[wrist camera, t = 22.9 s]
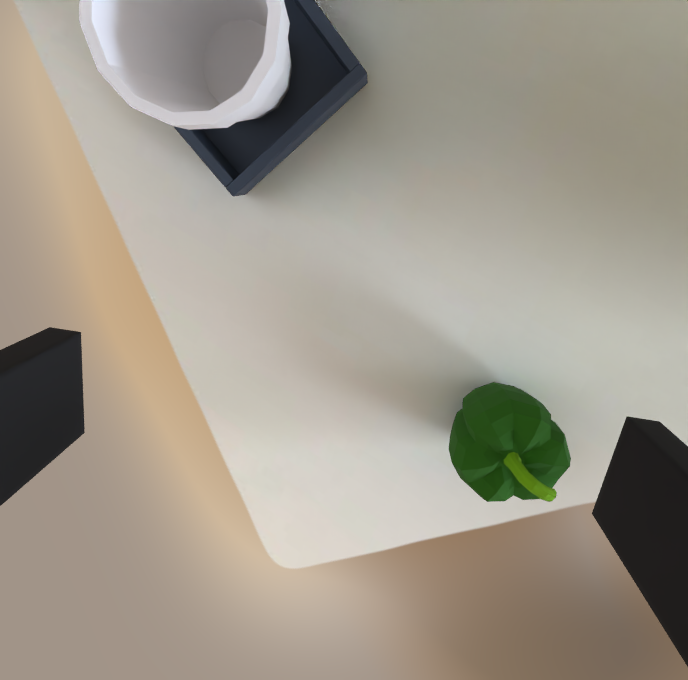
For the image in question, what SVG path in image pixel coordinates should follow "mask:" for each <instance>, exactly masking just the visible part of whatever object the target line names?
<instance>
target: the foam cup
mask: <svg viewBox="0 0 688 680" xmlns="http://www.w3.org/2000/svg"><path fill="white" fill-rule="evenodd" d="M79 22H80V25H81V28H82V30H83V33H84V36H85V38H86V41H87V43H88V46H89V49H90V51H91V54H92V57H93V59H94V62H95V65H96V67H97V70H98V71H99V73H100V74H101V75H102V76H103V77H104V78H105V79H106V80H107V81H108V83H109V84H110V85H111V86H112V87H113V88H114V89H115V90H116V91H117V93H118V94H119V95H120V96H121V97H122V98H123V99H124V100H125V101H126V103H127V104H128V105H129V106H130V107H131V108H134V109H136V110H138V111H140V112H142V113H145V114H147V115H149V116H151V117H153V118H156V119H158V120H160V121H162V122H165V123H167V124H169V125H171V126H175V127H179V128H184V129H188V130H192V129H212V128H228V127H229V126H231V125H233V124H234V123H236V122H240V121H245V120H251V119H257V118H261V117H263V116H264V115H266V114H268V113H269V112H271V111H273V110H274V109H276V108H277V107H278V106H279V104H280V103H281V101H282V100H283V98H284V96H285V95H286V93H287V92H288V90H289V84H290V76H291V69H292V65H291V58H290V50H289V43H288V33H289V25H290V22H289V18H288V14H287V11H286V7H285V3H284V0H79Z"/></svg>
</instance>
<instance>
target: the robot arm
mask: <svg viewBox="0 0 688 680" xmlns="http://www.w3.org/2000/svg"><path fill="white" fill-rule="evenodd" d="M82 381H83V379H82V351H81V332H76V331H70V330H63V329H57V328H47V329H45V330H43V331H41V332H39V333H36V334H34V335H32V336H30V337H28V338H26V339H24V340H21V341H19V342H17V343H15V344H13V345H10V346H8V347H6V348H4V349H2V350H0V505H2V504H3V503H4V502H5V501H7V500H8V499H9V498H10V497H11V496H12V495H13V494H14V493H16V492H17V491H18V490H19V489H20V488H21V487H22V486H23V485H25V484H26V483H27V482H28V481H29V480H31V479H32V478H33V477H34V476H35V475H36V474H38V473H39V472H40V471H41V470H42V469H43V468H44V467H46V466H47V465H48V464H49V463H50V462H51V461H52V460H54V459H55V458H56V457H57V456H58V455H59V454H61V453H62V452H63V451H64V450H65V449H66V448H67V447H69V446H70V445H71V444H72V443H73V442H74V441H75V440H77V439H78V438H79V437H80V436H81V435H82V434H84V408H83V382H82ZM592 514H593V516H594V518H595V519H596V521H597V522H598V524H599V526H600V527H601V529H602V530H603V532H604V533H605V535H606V537H607V538H608V540H609V542H610V543H611V545H612V546H613V548H614V550H615V551H616V553H617V554H618V556H619V557H620V559H621V561H622V562H623V564H624V566H625V567H626V569H627V570H628V572H629V573H630V575H631V577H632V578H633V580H634V582H635V583H636V585H637V586H638V588H639V590H640V591H641V593H642V594H643V596H644V597H645V599H646V601H647V602H648V604H649V605H650V607H651V609H652V610H653V612H654V613H655V615H656V617H657V618H658V620H659V622H660V623H661V625H662V626H663V628H664V629H665V631H666V632H667V634H668V636H669V637H670V639H671V641H672V642H673V644H674V645H675V647H676V649H677V650H678V652H679V653H680V655H681V657H682V658H683V660H684V661H685V663H686V665H687V666H688V446H687V445H685V444H684V443H683V442H682V441H681V440H680V439H679V438H677V437H676V436H675V435H674V434H673V433H672V432H671V431H670V430H668V429H667V428H666V427H665V426H664V425H663V424H662V423H660V422H659V421H652V420H646V419H639V418H633V417H626V420H625V423H624V426H623V428H622V431H621V434H620V437H619V440H618V442H617V445H616V448H615V451H614V453H613V456H612V459H611V462H610V465H609V467H608V470H607V473H606V476H605V479H604V481H603V484H602V487H601V490H600V492H599V495H598V498H597V501H596V504H595V506H594V509H593V512H592Z"/></svg>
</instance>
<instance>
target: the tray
mask: <svg viewBox="0 0 688 680" xmlns="http://www.w3.org/2000/svg"><path fill="white" fill-rule="evenodd" d="M284 3H285V7H286V11H287V14H288V18H289V22H290V25H289V33H288V43H289V50H290V58H291V65H292V69H291V76H290V84H289V90H288V92H287V93H286V95H285V96H284V98H283V100H282V101H281V103H280V104H279V106H278V107H277V108H276V109H274V110H273V111H271V112H269V113H268V114H266V115H264V116H263V117H261V118H257V119H251V120H245V121H240V122H236V123H234V124H233V125H231V126H229V127H228V128H212V129H192V130H188V129H184V128H179V127H175V126H174V128H175V129H176V130H177V131H178V132H179V133H180V135H181V136H182V137H183V138H184V139H185V141H186V142H187V143H188V144H189V145H190V146H191V148H192V149H193V150H194V151H195V152H196V153H197V155H198V156H199V157H200V158H201V159H202V161H203V162H204V163H205V164H206V165H207V166H208V168H209V169H210V170H211V171H212V172H213V174H214V175H215V176H216V177H217V178H218V179H219V181H220V182H221V183H222V184H223V185H224V186H225V187H226V189H227V190H228V191H229V192H230V194H231V195H232V196H239V195H245V194H247V193H248V192H249V191H250V190H251V189H252V188H253V187H254V186H255V185H256V184H257V183H259V182H260V181H261V180H262V179H263V178H264V177H265V176H266V175H267V174H268V173H270V172H271V171H272V170H273V169H274V168H275V167H276V166H277V165H278V164H279V163H280V162H282V161H283V160H284V159H285V158H286V157H287V156H288V155H289V154H290V153H291V152H292V151H294V150H295V149H296V148H297V147H298V146H299V145H300V144H301V143H302V142H303V141H305V140H306V139H307V138H308V137H309V136H310V135H311V134H312V133H313V132H314V131H315V130H317V129H318V128H319V127H320V126H321V125H322V124H323V123H324V122H325V121H326V120H328V119H329V118H330V117H331V116H332V115H333V114H334V113H335V112H336V111H337V110H338V109H340V108H341V107H342V106H343V105H344V104H345V103H346V102H347V101H348V100H349V99H350V98H352V97H353V96H354V95H355V94H356V93H357V92H358V91H359V90H360V89H361V88H363V87H364V86H365V85H366V84H367V83H368V81H367V72H366V71H365V69H364V68H363V67H362V65H361V64H359V61H358V60H357V58H356V57H355V56H354V54H353V53H352V52H351V50H350V49H349V47H348V46H347V45H346V43H345V42H344V41H343V39H342V38H341V36H340V35H339V34H338V32H337V31H336V30H335V28H334V27H333V25H332V24H331V23H330V21H329V20H328V19H327V17H326V16H325V15H324V13H323V12H322V10H321V9H320V8H319V6H318V5H317V4H316V2H315V1H314V0H284Z"/></svg>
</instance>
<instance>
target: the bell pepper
mask: <svg viewBox="0 0 688 680" xmlns="http://www.w3.org/2000/svg"><path fill="white" fill-rule="evenodd" d="M449 452H450V456H451V460H452V463H453V465H454V467H455V469H456V471H457V473H458V475H459V476H460V478H461V479H462V480H463V481H464V482H465V483H466V484H468V485H469V486H470V487H471V488H472V489H473V490H474V491H475V492H476V493H477V494H478V495H479V496H480V497H482V498H483V499H484V500H486V501H487V502H490V501H506V500H507V499H509V498H510V497H512V496H513V495H514V496H516V497H518V498H520V499H523V500H527V499H542V500H545V501H552V500H553V499H554V498H555V497H556V491H555V489H552V487H553V486H554V485H555V483H556V482H557V481H558V479H559V478H560V477H561V476H562V475H563V473H564V472H565V471H566V470H567V469H568V468H569V467H570V460H571V458H570V454H569V450H568V446H567V442H566V438H565V435H564V433H563V432H562V431H561V429H560V428H559V427H558V426H557V424H556V423H555V422H554V421H552V420H551V414H550V413H549V412H548V410H547V409H546V408H545V407H544V405H543V404H542V403H540V402H539V401H538V400H536V399H535V398H533V397H532V396H530V395H529V394H527V393H526V392H524V391H522V390H521V389H518V388H516V387H514V386H510V385H505V384H500V383H495V382H493V383H490V384H487V385H484V386H481V387H479V388H476V389H474V390H473V391H472V392H470V393H469V394H468V395H467V396H466V397H464V398H463V409H461V410H460V411H458V412H457V414H456V417H455V420H454V423H453V426H452V430H451V435H450V443H449Z"/></svg>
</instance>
